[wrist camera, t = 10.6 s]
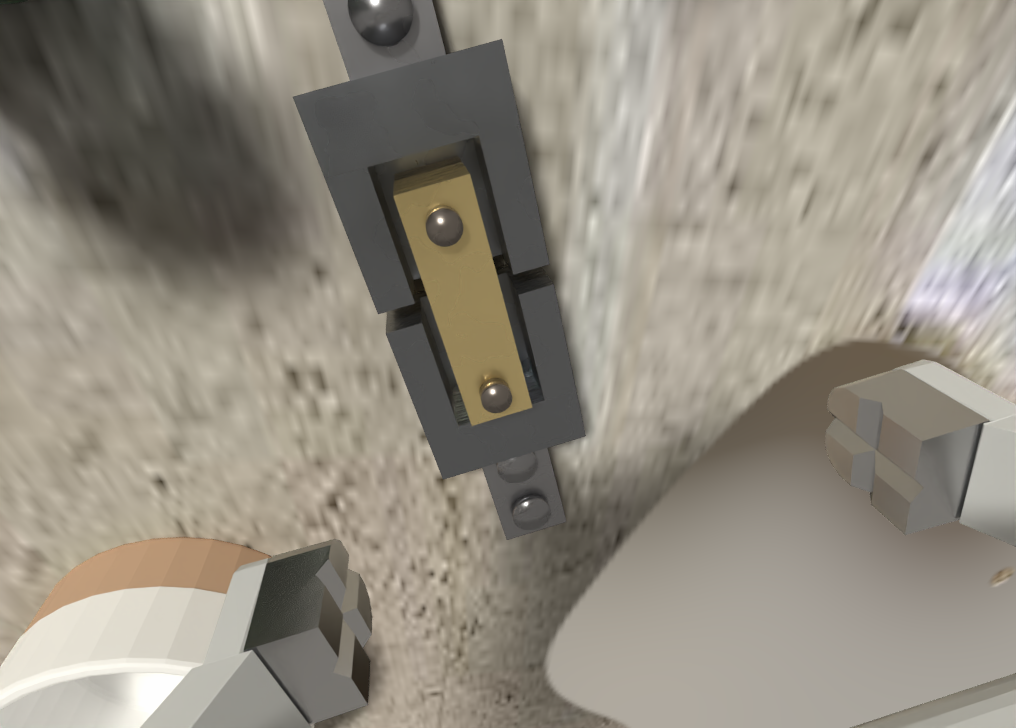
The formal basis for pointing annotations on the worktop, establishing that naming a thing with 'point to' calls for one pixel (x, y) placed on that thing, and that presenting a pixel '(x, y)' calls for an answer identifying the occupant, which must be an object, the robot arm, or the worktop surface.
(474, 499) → the worktop surface
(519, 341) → the chain end far
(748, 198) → the worktop surface
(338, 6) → the chain end near
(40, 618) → the bowl
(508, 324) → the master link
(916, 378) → the robot arm
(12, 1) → the coffee jar
